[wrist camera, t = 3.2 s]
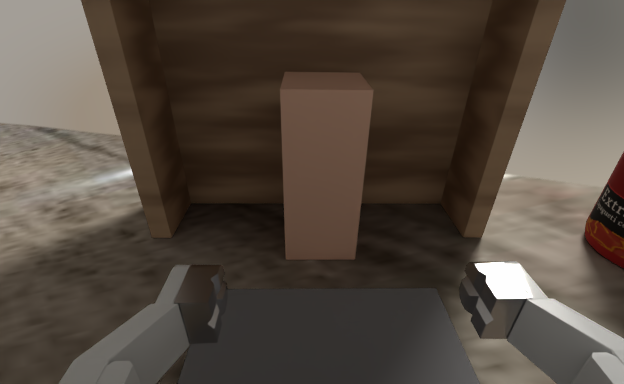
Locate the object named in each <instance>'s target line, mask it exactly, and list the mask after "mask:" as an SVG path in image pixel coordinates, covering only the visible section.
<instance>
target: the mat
mask: <svg viewBox="0 0 624 384" xmlns="http://www.w3.org/2000/svg"><path fill="white" fill-rule="evenodd" d="M221 321H222V327H221V330H220V334H219V338H218V342H217V343H202V344H190V347H189V350H188V353H187V356H186V359H185V362H184V365H183V368H182V371H181V374H180V377H179V380H178V383H177V384H480V383H479V381H478V378H477V376H476V374H475V372H474V370H473V368H472V365H471V363H470V361H469V359H468V357H467V355H466V352H465V350H464V348H463V346H462V344H461V342H460V339H459V337H458V335H457V333H456V331H455V328H454V326H453V324H452V322H451V320H450V318H449V315H448V313H447V311H446V309H445V307H444V305H443V302H442V300H441V298H440V296H439V294H438V292H437V289H436V288H342V289H228V299H227V307H226V311H225V313H224V314H223V315H222V316H221Z"/></svg>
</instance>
